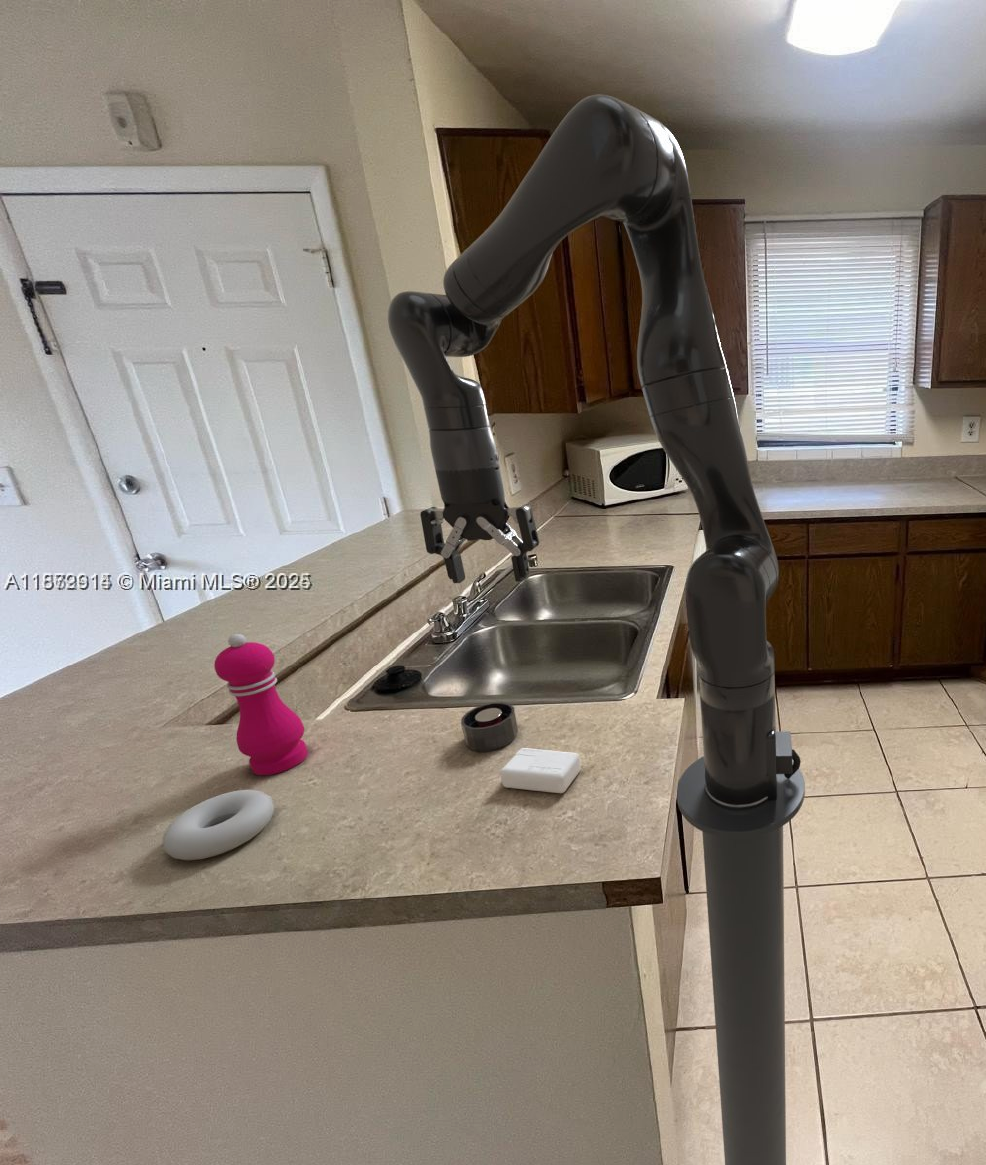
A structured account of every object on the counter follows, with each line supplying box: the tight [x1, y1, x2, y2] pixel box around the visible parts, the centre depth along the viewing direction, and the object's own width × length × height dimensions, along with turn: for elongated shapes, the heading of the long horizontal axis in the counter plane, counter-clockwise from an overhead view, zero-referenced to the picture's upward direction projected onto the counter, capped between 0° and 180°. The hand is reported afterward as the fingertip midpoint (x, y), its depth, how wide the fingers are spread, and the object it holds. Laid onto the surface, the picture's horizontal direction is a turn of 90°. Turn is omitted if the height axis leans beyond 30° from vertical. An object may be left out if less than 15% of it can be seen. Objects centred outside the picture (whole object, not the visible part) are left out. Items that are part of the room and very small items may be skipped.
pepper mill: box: [213, 633, 309, 776], centre depth 81 cm, size 7×7×20 cm
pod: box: [475, 708, 502, 728], centre depth 88 cm, size 4×4×4 cm
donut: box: [162, 789, 275, 861], centre depth 71 cm, size 10×4×10 cm
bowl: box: [460, 701, 519, 753], centre depth 89 cm, size 7×7×4 cm
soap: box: [499, 747, 582, 794], centre depth 80 cm, size 9×6×3 cm, turn 81°
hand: (490, 580), depth 82 cm, fingers open, 8 cm apart
